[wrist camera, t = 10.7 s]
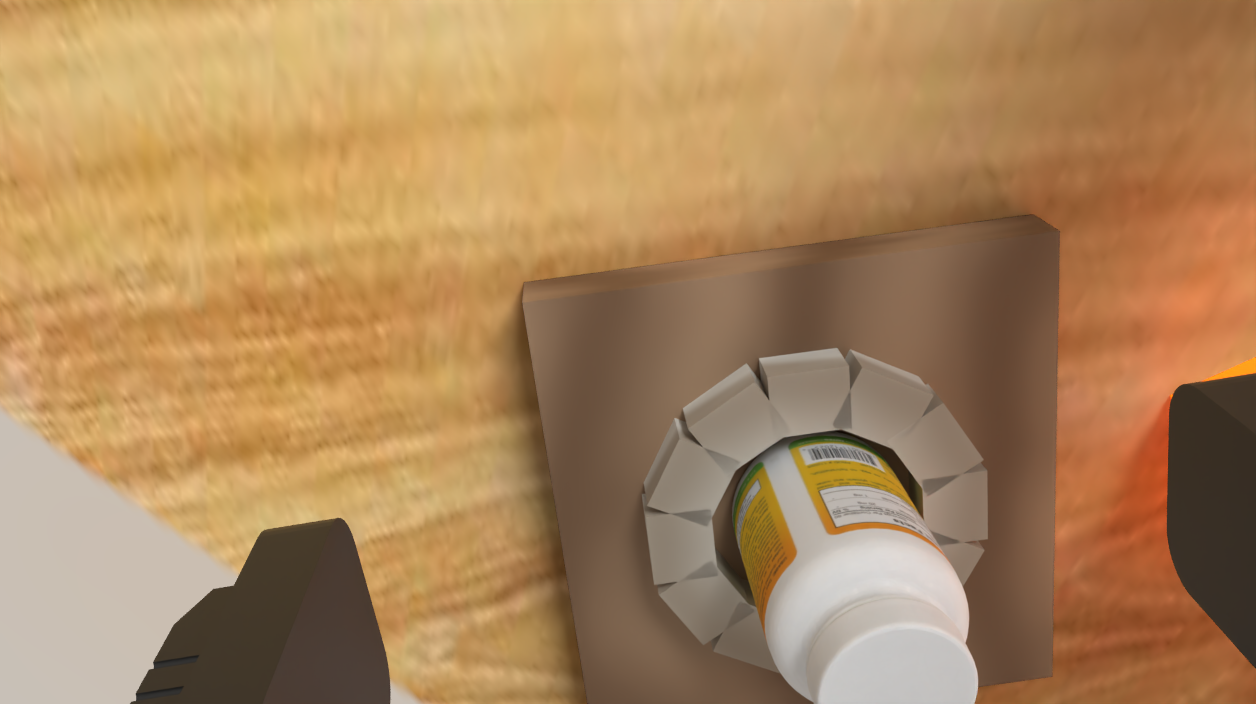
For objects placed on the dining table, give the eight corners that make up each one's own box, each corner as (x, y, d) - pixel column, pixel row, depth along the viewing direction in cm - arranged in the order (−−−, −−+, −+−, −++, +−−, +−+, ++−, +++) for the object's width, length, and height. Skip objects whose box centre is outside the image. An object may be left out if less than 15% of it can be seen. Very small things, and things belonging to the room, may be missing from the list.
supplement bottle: (784, 603, 38) (856, 820, 29) (697, 484, 36) (745, 675, 27) (926, 520, 37) (1046, 715, 28) (845, 394, 35) (945, 559, 26)
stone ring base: (1033, 214, 36) (1081, 244, 32) (1030, 642, 41) (1070, 704, 38) (524, 282, 36) (520, 319, 32) (591, 703, 41) (595, 770, 38)
